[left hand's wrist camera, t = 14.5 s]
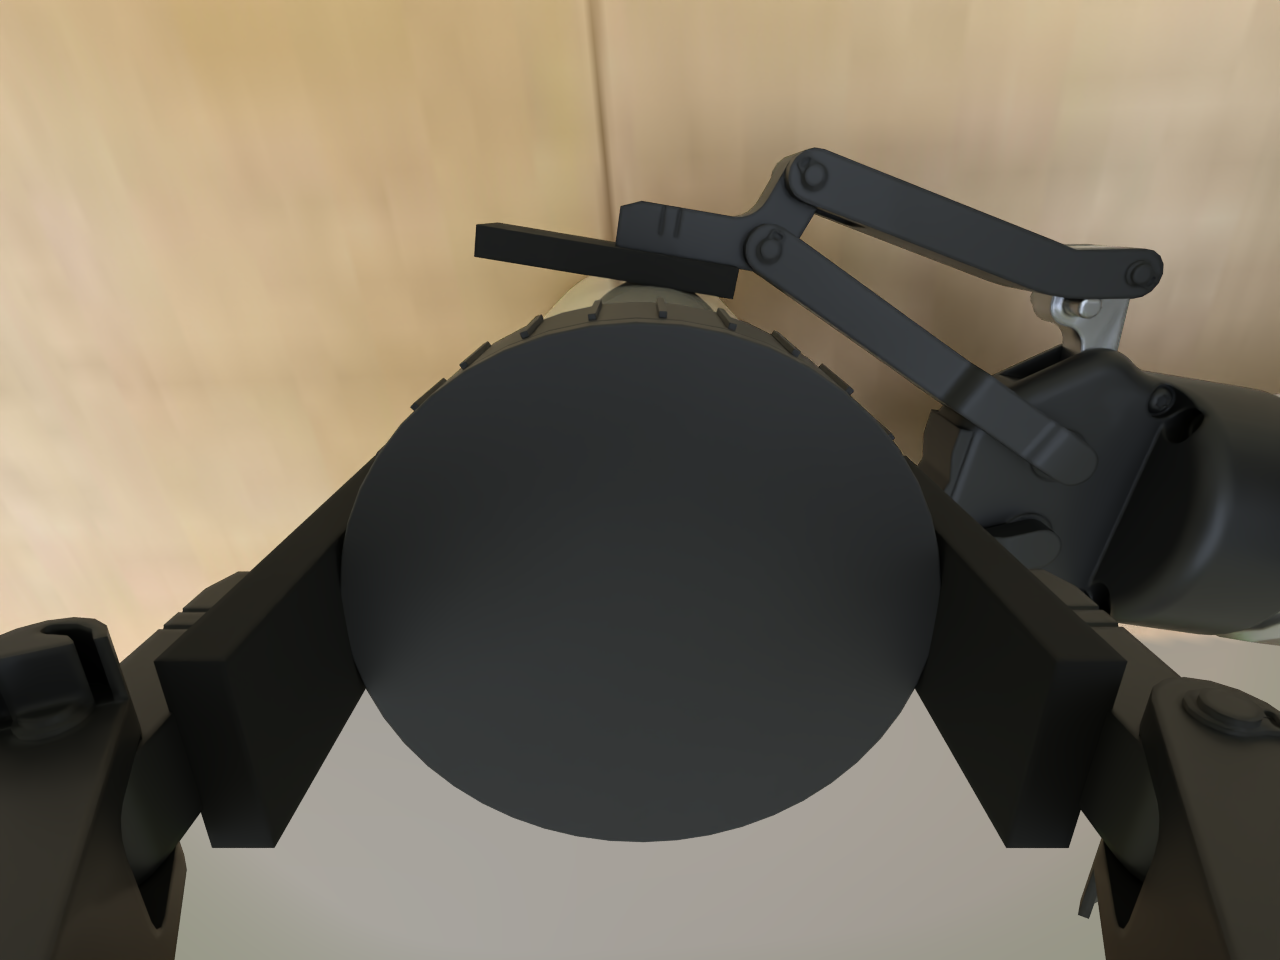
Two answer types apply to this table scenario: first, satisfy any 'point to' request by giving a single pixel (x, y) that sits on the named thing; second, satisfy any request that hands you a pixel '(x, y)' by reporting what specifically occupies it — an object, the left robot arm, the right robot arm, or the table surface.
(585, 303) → the jar
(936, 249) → the right robot arm
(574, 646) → the lid
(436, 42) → the table surface
